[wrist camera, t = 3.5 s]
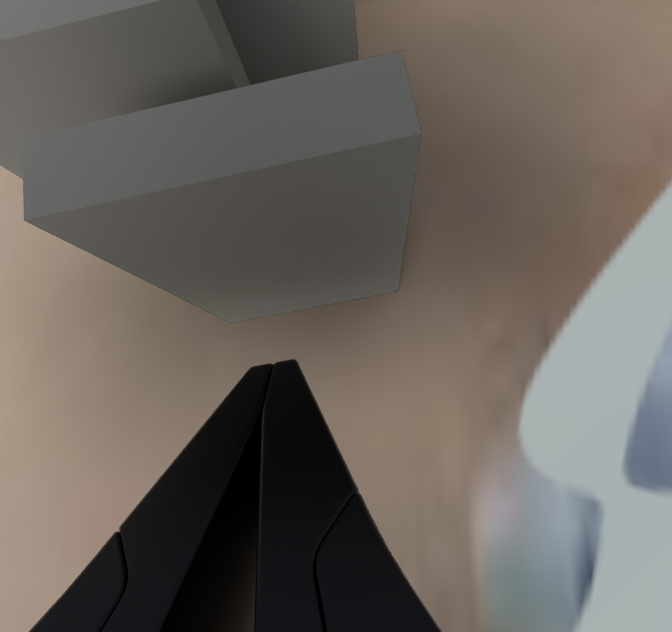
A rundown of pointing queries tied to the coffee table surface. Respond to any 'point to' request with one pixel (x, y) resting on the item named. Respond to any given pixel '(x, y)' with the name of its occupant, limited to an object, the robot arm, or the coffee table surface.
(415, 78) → the coffee table surface
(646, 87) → the coffee table surface
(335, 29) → the domino
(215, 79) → the domino
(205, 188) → the domino
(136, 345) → the coffee table surface
